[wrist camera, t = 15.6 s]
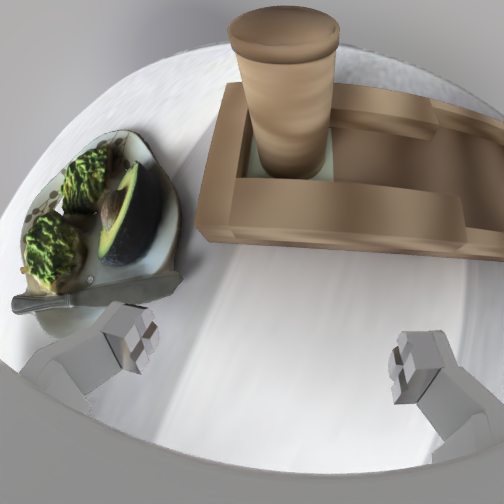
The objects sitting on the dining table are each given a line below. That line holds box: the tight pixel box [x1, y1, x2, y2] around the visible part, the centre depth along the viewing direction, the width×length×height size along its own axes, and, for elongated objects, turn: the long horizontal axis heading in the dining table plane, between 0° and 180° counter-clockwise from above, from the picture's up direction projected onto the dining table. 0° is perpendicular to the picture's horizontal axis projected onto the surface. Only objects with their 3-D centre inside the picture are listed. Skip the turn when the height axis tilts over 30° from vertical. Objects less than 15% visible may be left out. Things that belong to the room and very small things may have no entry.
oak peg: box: [228, 6, 340, 180], centre depth 13 cm, size 5×5×10 cm
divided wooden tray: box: [194, 82, 504, 262], centre depth 16 cm, size 27×12×3 cm, turn 84°
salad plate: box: [11, 130, 184, 341], centre depth 18 cm, size 19×18×5 cm
